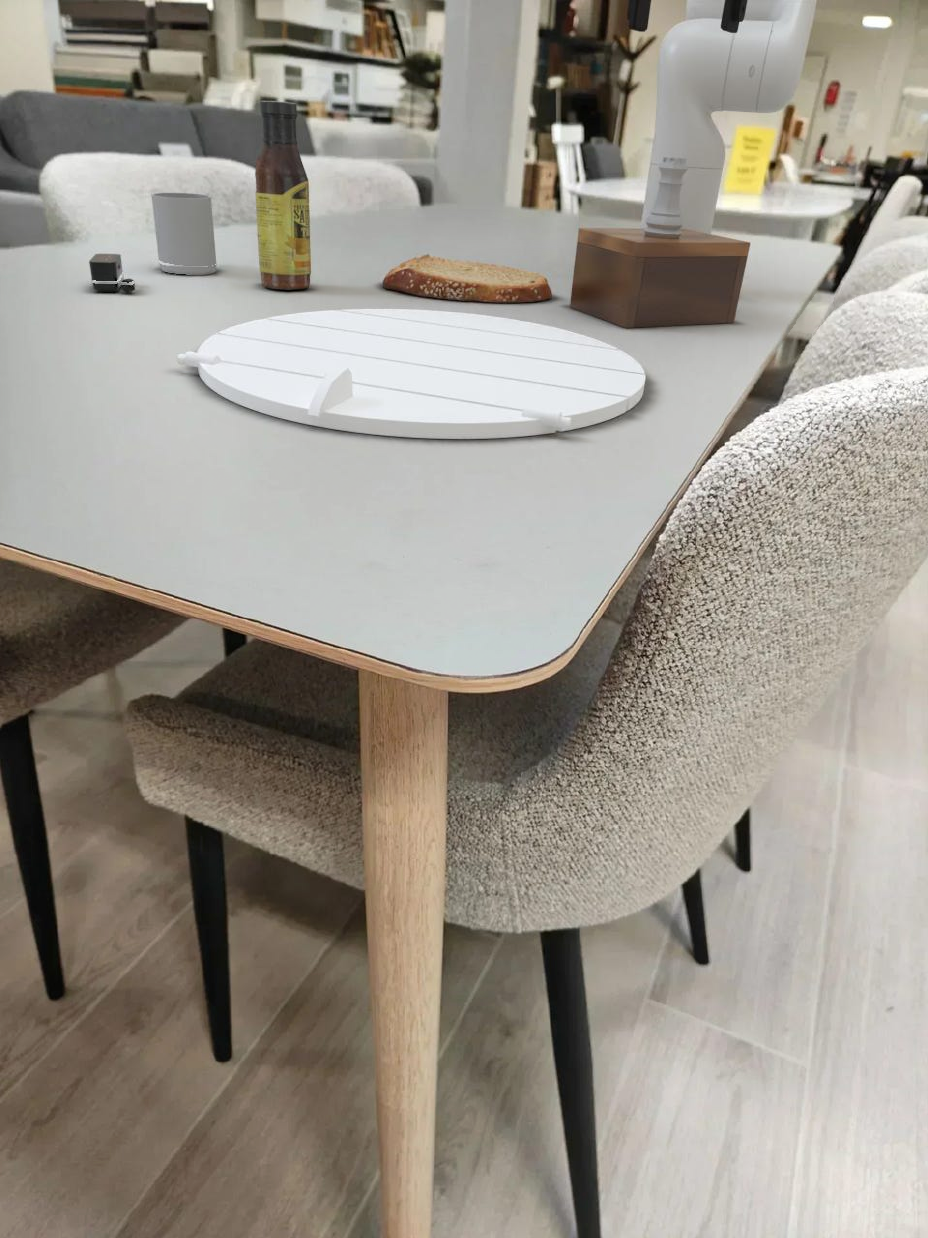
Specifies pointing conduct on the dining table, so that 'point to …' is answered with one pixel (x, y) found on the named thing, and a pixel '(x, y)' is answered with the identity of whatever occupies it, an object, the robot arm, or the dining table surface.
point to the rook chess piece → (667, 201)
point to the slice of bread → (466, 281)
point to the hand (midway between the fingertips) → (682, 30)
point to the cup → (184, 232)
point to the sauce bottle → (282, 202)
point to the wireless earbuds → (108, 273)
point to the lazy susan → (419, 373)
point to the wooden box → (657, 277)
